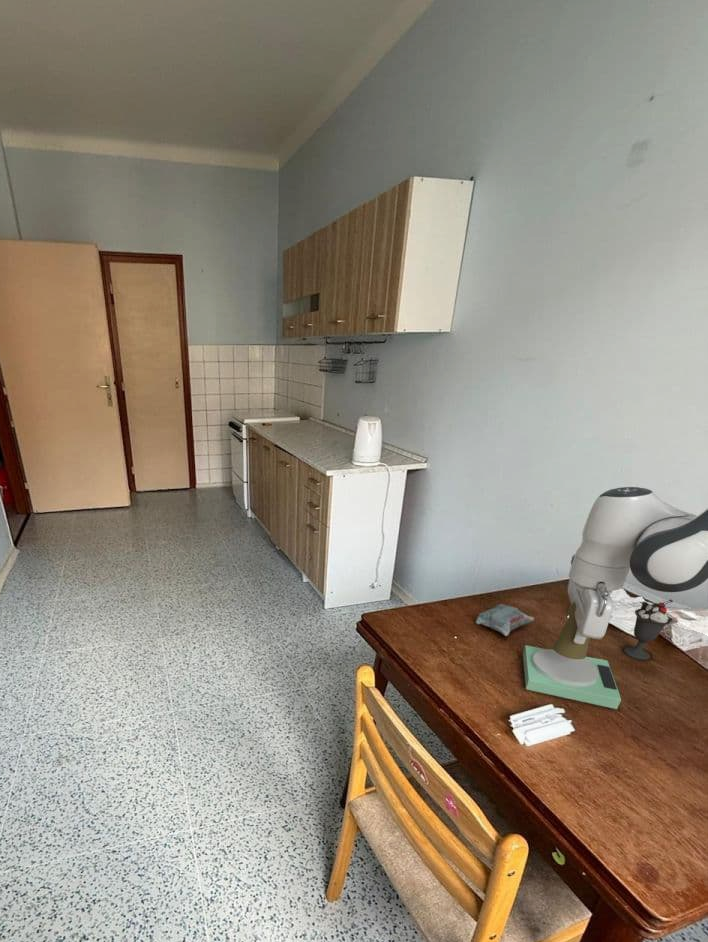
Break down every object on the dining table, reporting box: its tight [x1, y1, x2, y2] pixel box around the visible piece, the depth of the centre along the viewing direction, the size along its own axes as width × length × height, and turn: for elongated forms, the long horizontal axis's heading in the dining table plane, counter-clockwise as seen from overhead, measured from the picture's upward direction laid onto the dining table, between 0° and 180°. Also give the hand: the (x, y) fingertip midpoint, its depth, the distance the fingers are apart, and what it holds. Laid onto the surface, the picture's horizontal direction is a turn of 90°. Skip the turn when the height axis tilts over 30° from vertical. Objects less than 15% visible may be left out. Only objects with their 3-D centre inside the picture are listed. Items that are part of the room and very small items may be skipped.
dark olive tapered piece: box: [552, 603, 591, 659], centre depth 95 cm, size 6×6×11 cm
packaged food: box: [475, 603, 535, 637], centre depth 119 cm, size 9×12×5 cm
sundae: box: [623, 599, 674, 661], centre depth 105 cm, size 7×7×15 cm
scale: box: [522, 644, 622, 710], centre depth 100 cm, size 16×14×4 cm
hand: (575, 634), depth 96 cm, fingers closed on dark olive tapered piece, 4 cm apart
